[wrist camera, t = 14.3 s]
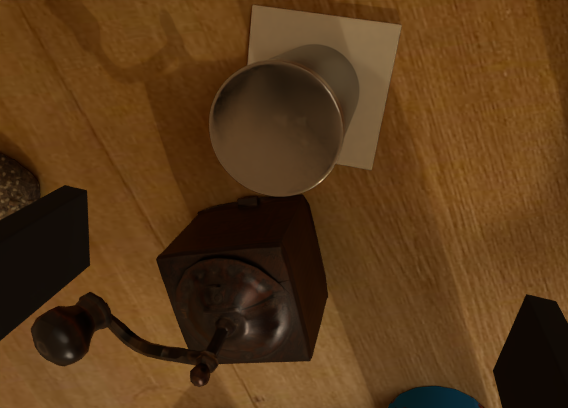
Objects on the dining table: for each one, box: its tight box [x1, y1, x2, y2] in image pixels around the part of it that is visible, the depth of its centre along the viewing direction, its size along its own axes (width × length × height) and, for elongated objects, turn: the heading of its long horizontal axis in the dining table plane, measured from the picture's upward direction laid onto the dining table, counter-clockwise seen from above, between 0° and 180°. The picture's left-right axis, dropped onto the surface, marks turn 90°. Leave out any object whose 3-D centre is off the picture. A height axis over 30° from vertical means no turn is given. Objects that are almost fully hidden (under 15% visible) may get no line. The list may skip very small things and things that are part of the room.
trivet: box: [247, 5, 402, 170], centre depth 36 cm, size 11×11×1 cm
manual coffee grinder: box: [31, 194, 328, 387], centre depth 36 cm, size 16×11×18 cm
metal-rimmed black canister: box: [209, 44, 359, 197], centre depth 30 cm, size 7×7×13 cm
